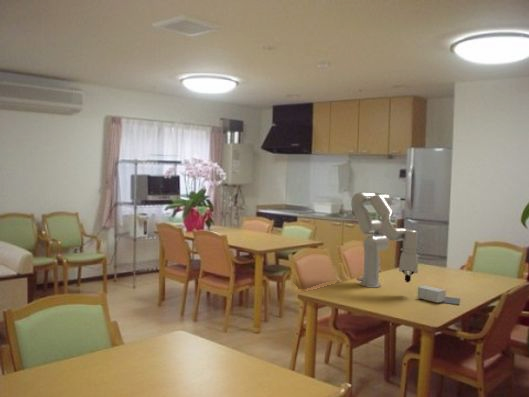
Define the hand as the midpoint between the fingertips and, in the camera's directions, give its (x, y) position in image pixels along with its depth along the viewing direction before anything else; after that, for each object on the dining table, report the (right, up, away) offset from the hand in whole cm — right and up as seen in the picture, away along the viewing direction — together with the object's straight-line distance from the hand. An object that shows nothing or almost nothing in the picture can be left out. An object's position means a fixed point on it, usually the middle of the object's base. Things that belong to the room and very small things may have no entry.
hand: (407, 281), depth 289 cm
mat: (+18, -9, -8) cm, 22 cm away
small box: (+7, -5, -4) cm, 9 cm away
